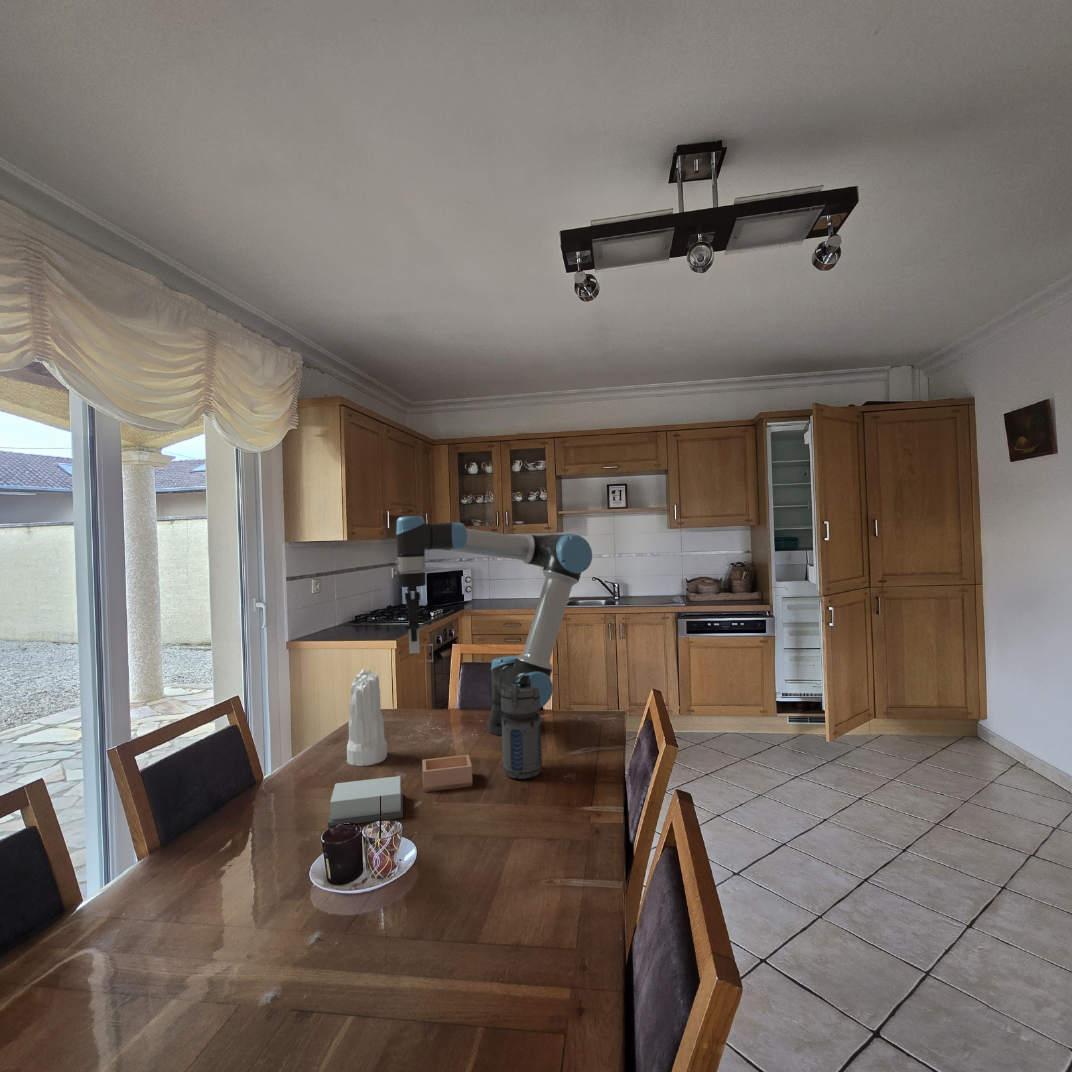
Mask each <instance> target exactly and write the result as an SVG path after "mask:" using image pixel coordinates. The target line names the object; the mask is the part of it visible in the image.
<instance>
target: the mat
mask: <svg viewBox="0 0 1072 1072" xmlns="http://www.w3.org/2000/svg"><path fill="white" fill-rule="evenodd" d="M403 804H404V790H401V811H398V812H390V813H382V815H381V816H380V814H375V815H367V816H359V817H351V818H343V819H335V820H331V811H330V813H329V816H328V819H327V827H328V828H333V827H335V826H334V825H339V824H344V823H356V824H361V823H363V824H364V823H369V822H371V823H372V822H377V821H376V820H379V819H380V817H381V818H382V819H385V820H393V819H400V818H401V819H402V818H404V805H403ZM385 820H384V821H385ZM379 821H380V820H379Z"/></svg>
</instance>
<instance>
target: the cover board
mask: <svg viewBox="0 0 1072 1072" xmlns="http://www.w3.org/2000/svg"><path fill="white" fill-rule="evenodd" d="M401 783H402V782H401V776H400V775H398V776H397V775H396V776H390V777H381V778H372V779H363V780H362V779H361V780H354V781H347V782H338V783H335V784H334V787H333V790H332V794H331V798H330V802H329V804H330V812H331V820H335V819H343V818H351V817H359V816H367V815H375V814H380V796H381V811H382V813H390V812H398V811H401V791H402V788H401V787H402V786H401Z"/></svg>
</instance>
